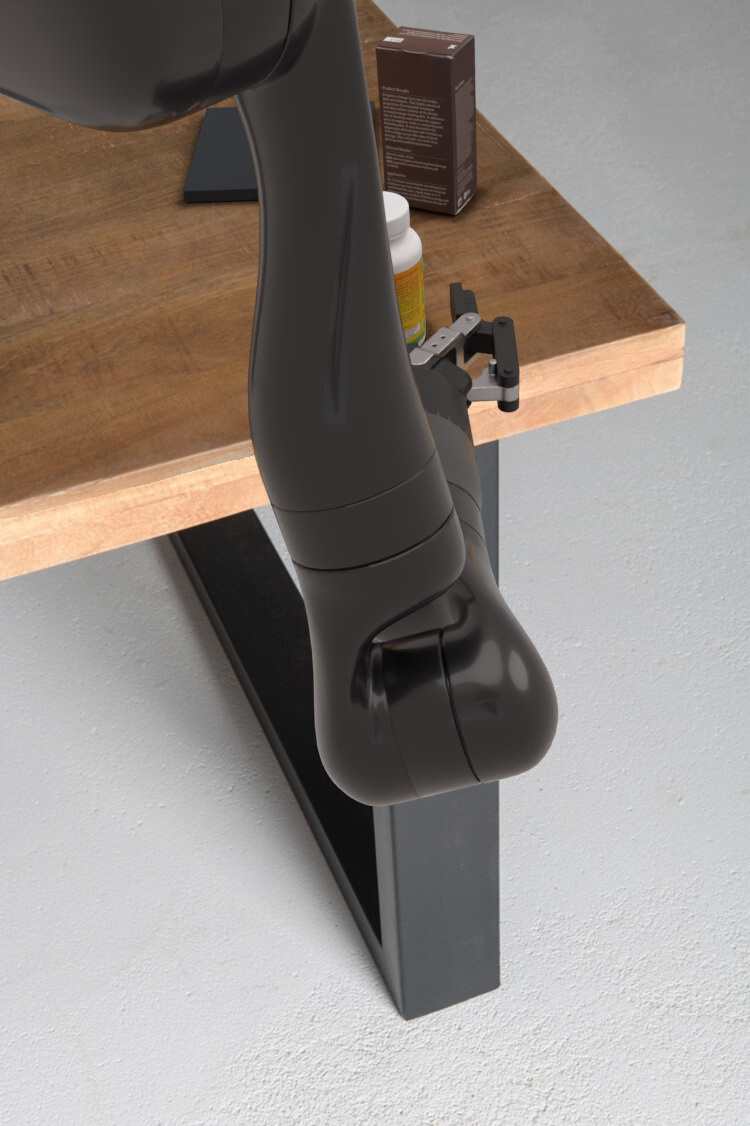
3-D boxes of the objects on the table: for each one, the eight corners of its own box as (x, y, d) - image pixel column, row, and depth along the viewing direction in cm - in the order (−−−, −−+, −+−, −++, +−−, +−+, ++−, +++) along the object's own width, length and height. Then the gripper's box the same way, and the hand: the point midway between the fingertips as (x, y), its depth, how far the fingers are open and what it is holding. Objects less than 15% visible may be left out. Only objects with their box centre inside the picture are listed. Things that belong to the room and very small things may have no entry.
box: (479, 189, 106) (477, 32, 98) (455, 218, 104) (451, 59, 95) (407, 176, 109) (399, 21, 100) (381, 204, 106) (371, 47, 98)
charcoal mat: (185, 202, 108) (182, 191, 107) (208, 118, 118) (206, 107, 117) (367, 196, 107) (367, 184, 106) (375, 112, 117) (374, 100, 116)
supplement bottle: (441, 345, 92) (437, 211, 85) (369, 372, 90) (359, 238, 84) (400, 307, 95) (392, 176, 89) (330, 333, 94) (317, 201, 87)
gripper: (543, 401, 71) (502, 235, 83) (260, 426, 71) (259, 256, 83) (540, 513, 76) (501, 342, 88) (276, 536, 76) (273, 362, 88)
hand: (384, 301), depth 85 cm, fingers open, 8 cm apart
